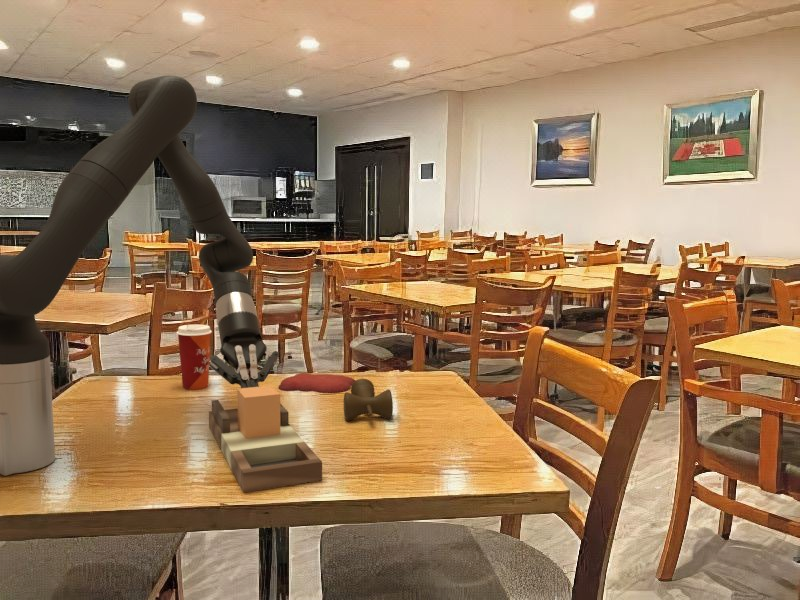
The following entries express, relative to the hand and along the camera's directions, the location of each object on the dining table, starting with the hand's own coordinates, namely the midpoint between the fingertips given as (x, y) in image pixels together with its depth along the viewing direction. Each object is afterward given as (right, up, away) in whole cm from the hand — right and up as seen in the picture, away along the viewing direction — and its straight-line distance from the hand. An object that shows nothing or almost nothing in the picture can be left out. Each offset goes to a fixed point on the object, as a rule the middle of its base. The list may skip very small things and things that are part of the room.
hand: (252, 401), depth 120 cm
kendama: (+19, -6, +19) cm, 27 cm away
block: (+2, -5, -3) cm, 6 cm away
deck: (+2, -8, -4) cm, 9 cm away
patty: (+7, -3, +40) cm, 41 cm away
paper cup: (-21, -2, +36) cm, 42 cm away
